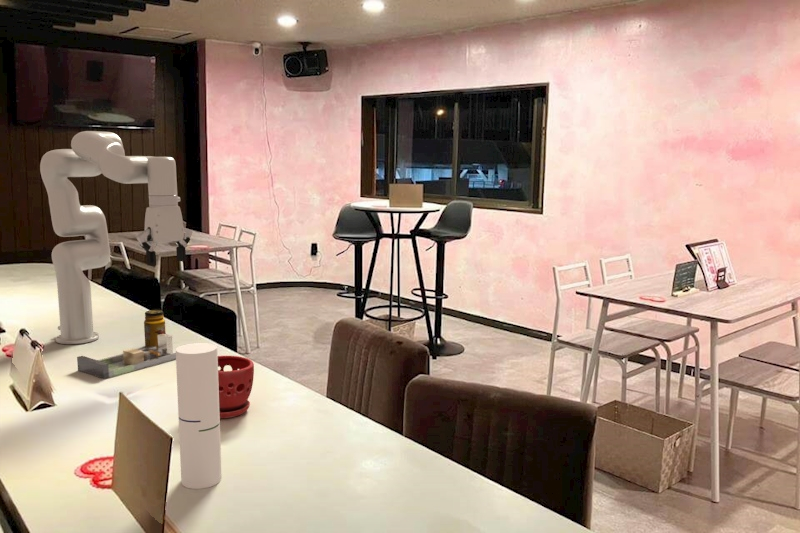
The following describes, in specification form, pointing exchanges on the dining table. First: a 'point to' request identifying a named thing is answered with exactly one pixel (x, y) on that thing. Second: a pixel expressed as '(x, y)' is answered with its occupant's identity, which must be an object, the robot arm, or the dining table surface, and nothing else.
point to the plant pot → (234, 385)
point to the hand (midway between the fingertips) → (166, 263)
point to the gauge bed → (118, 364)
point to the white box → (160, 347)
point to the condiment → (153, 327)
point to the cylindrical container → (198, 415)
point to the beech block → (133, 356)
